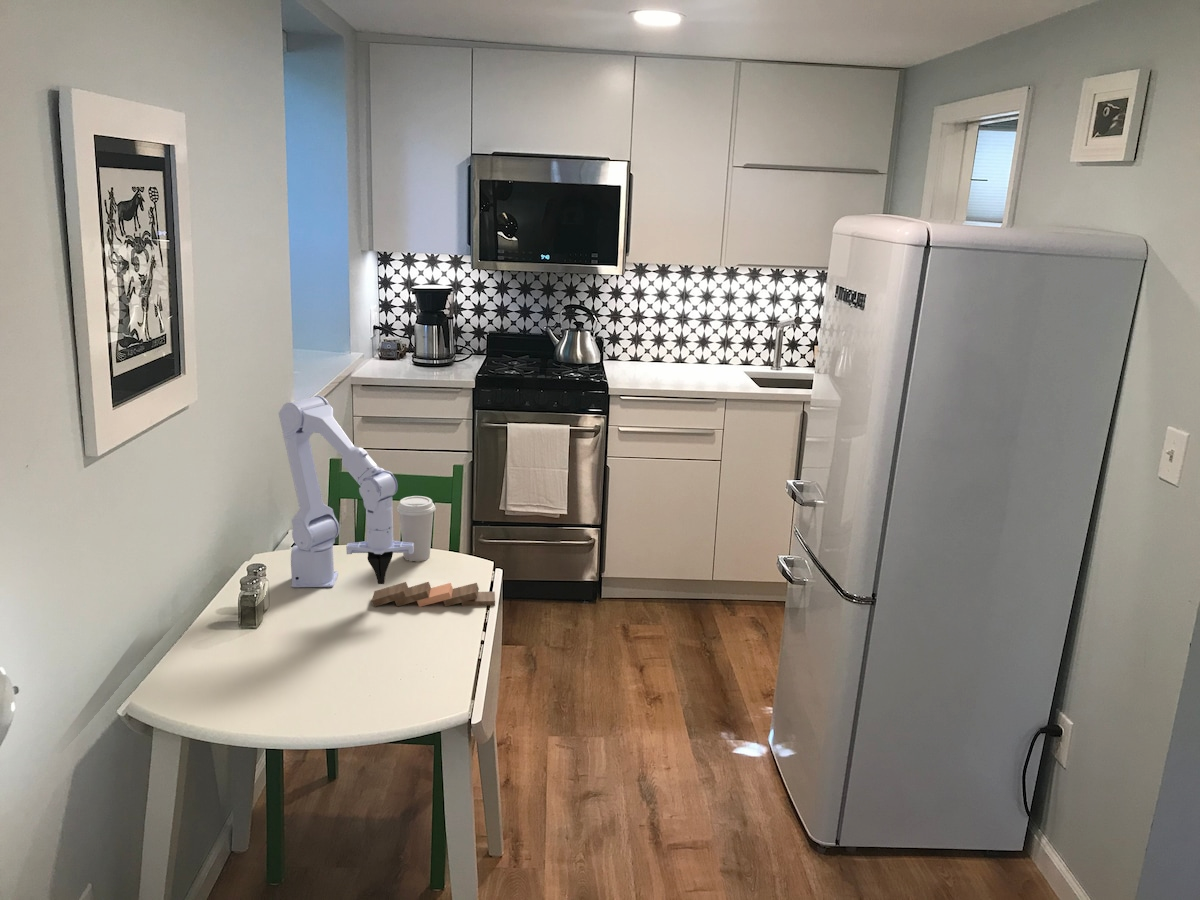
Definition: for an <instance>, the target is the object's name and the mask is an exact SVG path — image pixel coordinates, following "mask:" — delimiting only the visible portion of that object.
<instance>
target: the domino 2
mask: <svg viewBox="0 0 1200 900" xmlns="http://www.w3.org/2000/svg"><path fill="white" fill-rule="evenodd" d="M431 588H432V587H431V585H430V581H426V582H423V583H419V584H417V585H413V586H408V591H407V595H406V597H405V598H402V599H399V600H395V601H394V602H395V605H396V607H400V606H405V605H407V604H410V603H414V602H417V601H418V600H421V599H424V598H428V597H429V594H430V590H431Z"/></svg>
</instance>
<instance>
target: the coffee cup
mask: <svg viewBox="0 0 1200 900" xmlns="http://www.w3.org/2000/svg"><path fill="white" fill-rule="evenodd" d="M396 511H397V512H398V518H399V526H400V535H401V542H409V543H414V552H413V554H408V553H402V554H403V558H405V560H406V561H408V560H409V561H408V562H412V561H418V562H423V561H427V560H428V559H430V557H431V556H430V555H431V547H432V546H431V544H432V533H433V523H434V521H433V519H434V512H435V511H436V506H435V504H434V502H433V499H431V498H430V497H428V496H422V495H412V496H406V497H403V498H401V499H400V500H399V503H398V505H397V507H396Z"/></svg>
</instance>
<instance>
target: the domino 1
mask: <svg viewBox="0 0 1200 900" xmlns="http://www.w3.org/2000/svg"><path fill="white" fill-rule="evenodd" d="M408 588H409V586H408V583H407V581H403V582H401V583H397V584H393V585H390V586H387V587H384V588H380V589H378V590H375V591H373V595H372V599H371V603H372V606H373V607H378V606H381V605H386V604H388V603H391V602H395V600H399V599H402V598H405V597H406V595H407V591H408Z"/></svg>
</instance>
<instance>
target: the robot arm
mask: <svg viewBox="0 0 1200 900" xmlns="http://www.w3.org/2000/svg"><path fill="white" fill-rule="evenodd" d="M278 417H279V422H280V425H281V430H282V434H283V435H282V436H283V437H282V438H283V440H284V441H283V442H284V446H285V450H286V454H287V459H288V463H289V468H290V472H291V477H292V481H293V485H294V490H295V494H296V498H297V503H298V507H299V508H298V510H297V511H296V513H295V514H294V515H293V517H292V519H291V523H292V524H291V525H292V530H291V531H292V533H291V537H292V541H293V542H294V545H293V546H292V547H291V553H290V569H291V573H290V574H291V588H333V587H334V585H335V582H336V580H337V577H338V574H339V572H338V571H335V566H334V548H333V547H334V544H335V543H336V538H338V536H339V535H340V524H339V521H338V519H337V518H336V515H335V513H334V509H333V508H332V507H330V506H328V505H326V504H324V500H323V497H322V492H321V488H320V482H319V479H318V474H317V469H316V463H315V461H314V455H313V450H312V446H311V442H310V438H311V437H312V435H313V434H314V433H315V434H320V436H322V437H323V438H324V439H325V440H326V441H327V442H328V444H330V445H331V447H333V449H334V450H335V451H337V453H339V455H341V456H342V457H341V459H342V460H341V464H342V466H343V468H344V469H345V470H346V471H347V472H348V473H349V475H350V476H351V477H352V478H353V479H354V480H355V481H356V483H357V484H358V485H359V486H360V487H359V488H358V492H359V495H360V497H361V499H362V502H363V507H364V509H365V518H366V519H365V521H366V540H365V541H358V542H347V544H346V555H352V554H367V561H368V563H369V565H370V566H371V568H372V569H373V572H374V574H375V577H376V581H377V585H384V584H385V581H386V573H387V570H388V567H389V565H390V563H391V561H392V558H393V555H394V553H395V554H396V553H397V554H398V553H402V554H403V553H408V554H413V552H414V543H409V542H402V541H399V540H394V519H393V518H394V517H393V516H394V515H393V514H394V512H393V511H394V509H393V496H394V495H396V493H397V492H398V489H399V488H398V481H397V478H396V477H395V475H394V473H393V472H392V471H390V470H385V469H384V468H383V467H379V465H378V464H377V463H376V462H375V461H374V459H373V458H372V457H371V456H370V455H369V453H368V451H367V450H365V449H364V448H363V447H360V446H359V447H358V446H355V445H354V444H353V442H352V441H351V439H350V438H349V437H348V435H347V434H346V432H345V431H344V430H343V428H342V427H341V425H339V423H338V421H337V420H336V419H335V417H334V408H333V407H332V405H330V403H329V401H328V400H327V399H326V398H325V397H324V396H322V395H314V396H313V397H308V398H303V399H299V400H296V401H288V402H286V403H284V404H283V405H282V406H281V409H280V410H279V411H278Z"/></svg>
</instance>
